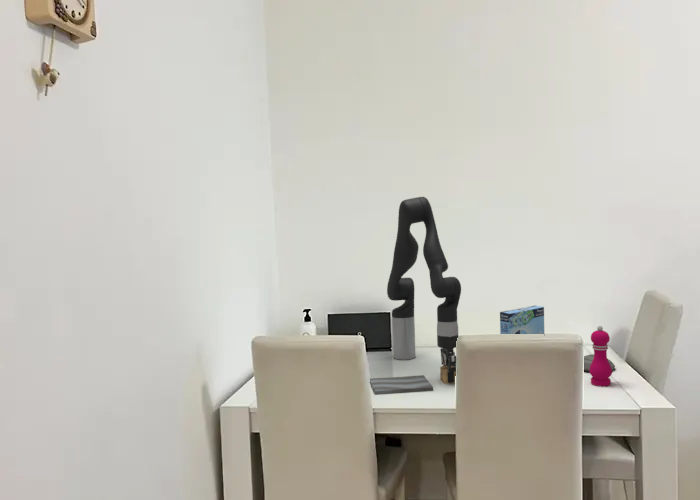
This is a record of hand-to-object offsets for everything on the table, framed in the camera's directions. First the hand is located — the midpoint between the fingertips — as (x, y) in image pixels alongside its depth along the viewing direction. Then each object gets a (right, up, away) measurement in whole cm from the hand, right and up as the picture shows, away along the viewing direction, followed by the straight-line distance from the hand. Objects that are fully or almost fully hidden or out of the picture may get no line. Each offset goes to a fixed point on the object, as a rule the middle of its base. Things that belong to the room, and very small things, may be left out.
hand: (449, 380), depth 234 cm
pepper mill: (+50, +1, -10) cm, 51 cm away
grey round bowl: (+55, +2, +10) cm, 56 cm away
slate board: (-18, -1, -4) cm, 18 cm away
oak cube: (0, 0, 0) cm, 0 cm away
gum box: (+30, +1, +13) cm, 33 cm away
